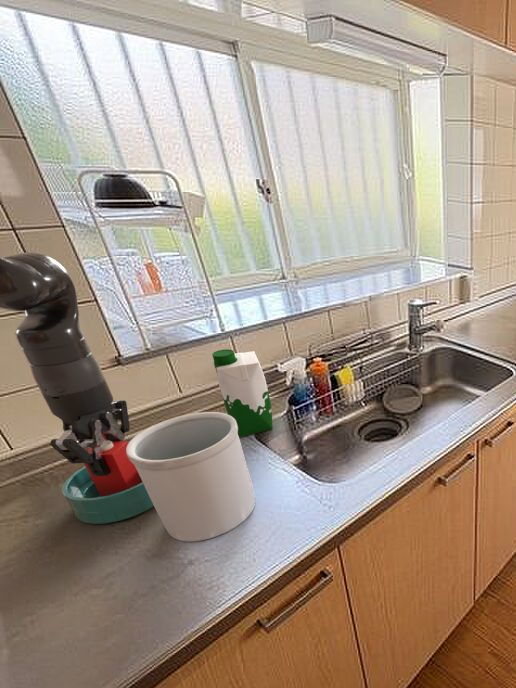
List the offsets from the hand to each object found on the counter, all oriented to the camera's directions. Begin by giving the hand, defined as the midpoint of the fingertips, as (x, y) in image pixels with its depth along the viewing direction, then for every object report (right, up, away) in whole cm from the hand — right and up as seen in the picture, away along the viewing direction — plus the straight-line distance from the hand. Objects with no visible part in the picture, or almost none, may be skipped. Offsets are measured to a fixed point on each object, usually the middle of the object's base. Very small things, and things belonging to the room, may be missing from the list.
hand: (112, 465), depth 76 cm
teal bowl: (0, -7, +4) cm, 8 cm away
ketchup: (0, -6, +3) cm, 7 cm away
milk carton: (+9, +4, +27) cm, 28 cm away
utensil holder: (+17, -9, +2) cm, 19 cm away
